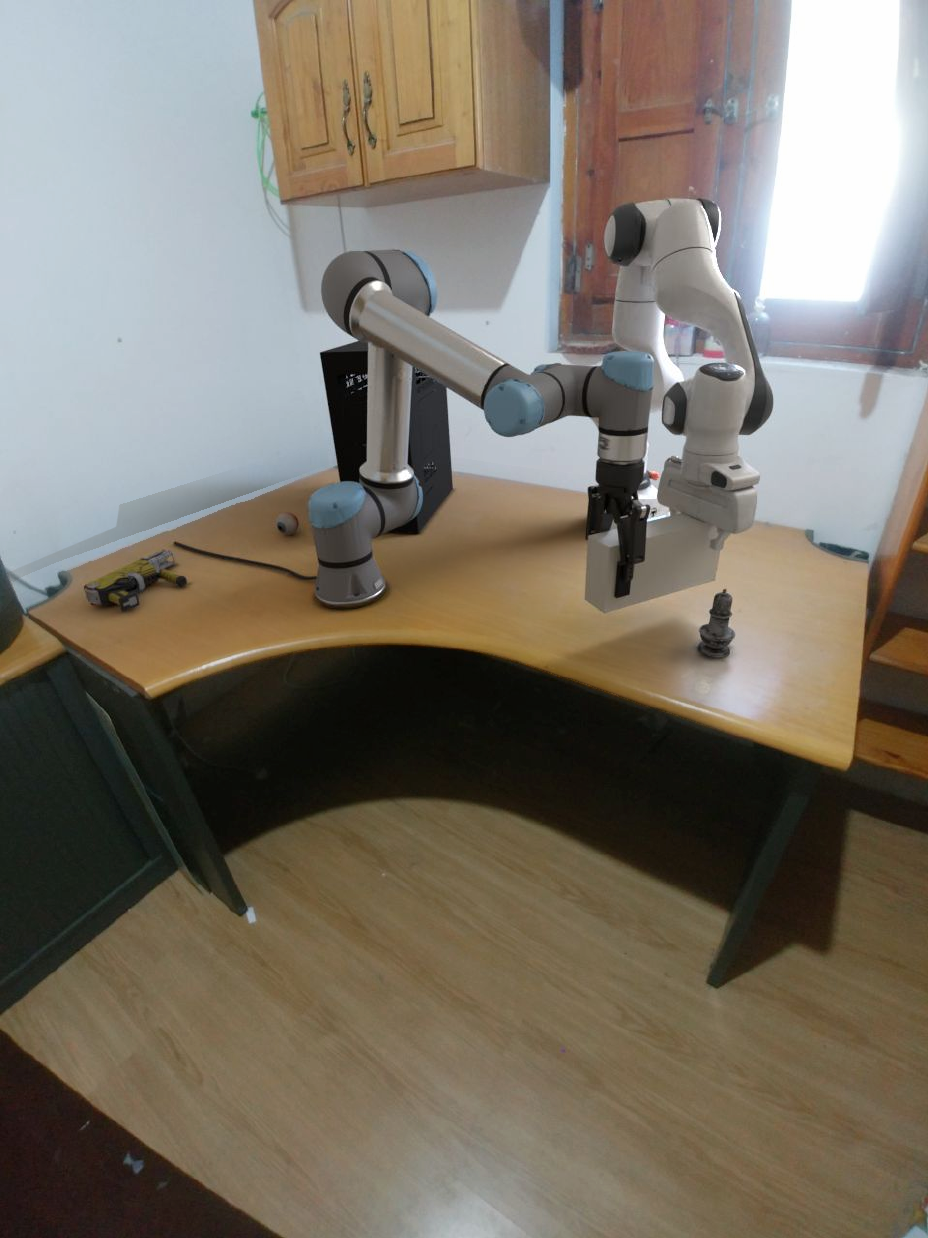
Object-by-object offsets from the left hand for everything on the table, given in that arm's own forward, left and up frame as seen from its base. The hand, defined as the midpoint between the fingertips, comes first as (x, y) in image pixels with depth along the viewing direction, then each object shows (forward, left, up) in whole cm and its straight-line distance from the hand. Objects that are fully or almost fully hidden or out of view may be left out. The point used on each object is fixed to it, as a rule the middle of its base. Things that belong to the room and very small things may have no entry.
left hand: (610, 587), depth 107 cm
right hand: (+13, +14, +5) cm, 19 cm away
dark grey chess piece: (+19, +1, -10) cm, 21 cm away
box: (+6, +7, -3) cm, 10 cm away
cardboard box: (-70, +52, -10) cm, 88 cm away
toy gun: (-102, -12, -10) cm, 104 cm away
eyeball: (-92, +25, -10) cm, 96 cm away
